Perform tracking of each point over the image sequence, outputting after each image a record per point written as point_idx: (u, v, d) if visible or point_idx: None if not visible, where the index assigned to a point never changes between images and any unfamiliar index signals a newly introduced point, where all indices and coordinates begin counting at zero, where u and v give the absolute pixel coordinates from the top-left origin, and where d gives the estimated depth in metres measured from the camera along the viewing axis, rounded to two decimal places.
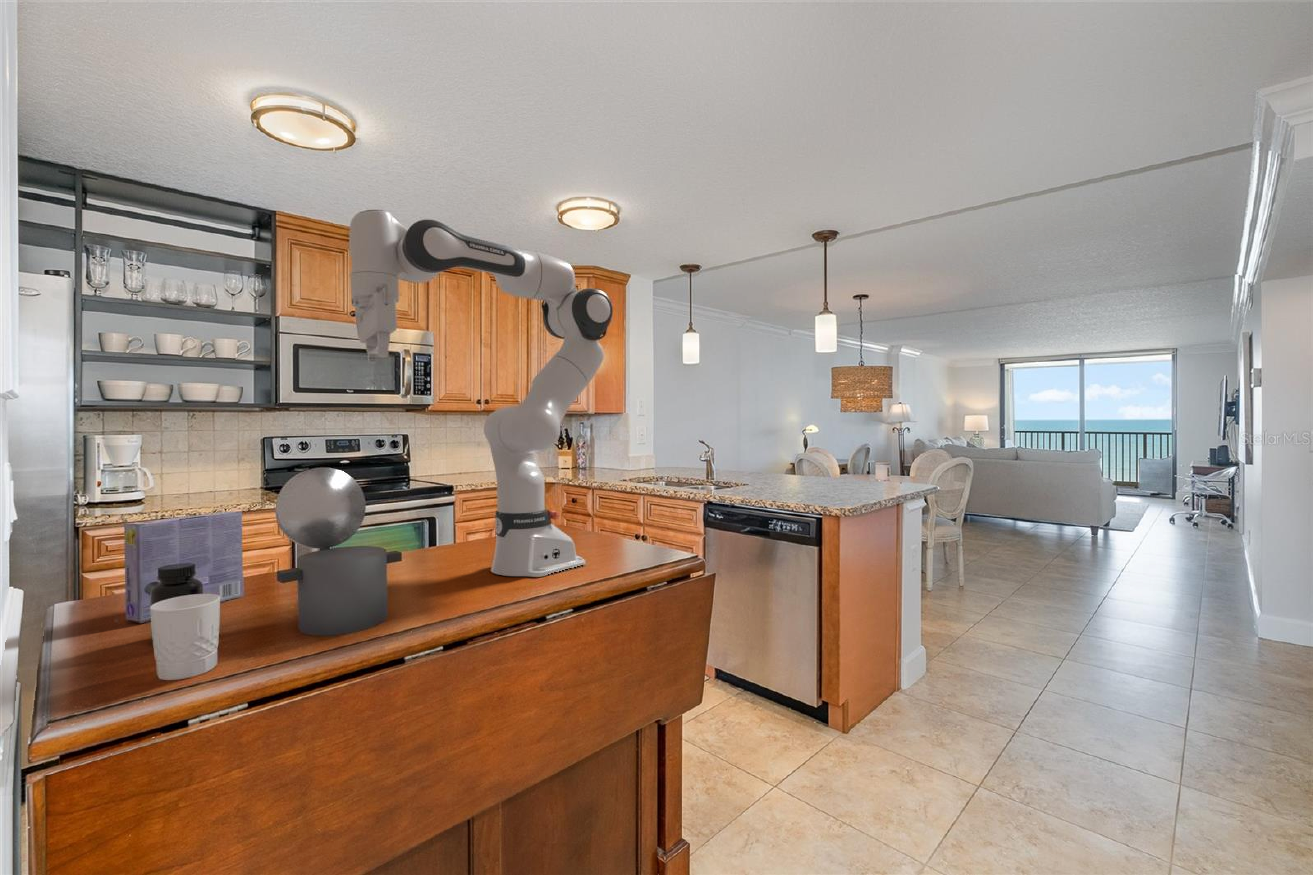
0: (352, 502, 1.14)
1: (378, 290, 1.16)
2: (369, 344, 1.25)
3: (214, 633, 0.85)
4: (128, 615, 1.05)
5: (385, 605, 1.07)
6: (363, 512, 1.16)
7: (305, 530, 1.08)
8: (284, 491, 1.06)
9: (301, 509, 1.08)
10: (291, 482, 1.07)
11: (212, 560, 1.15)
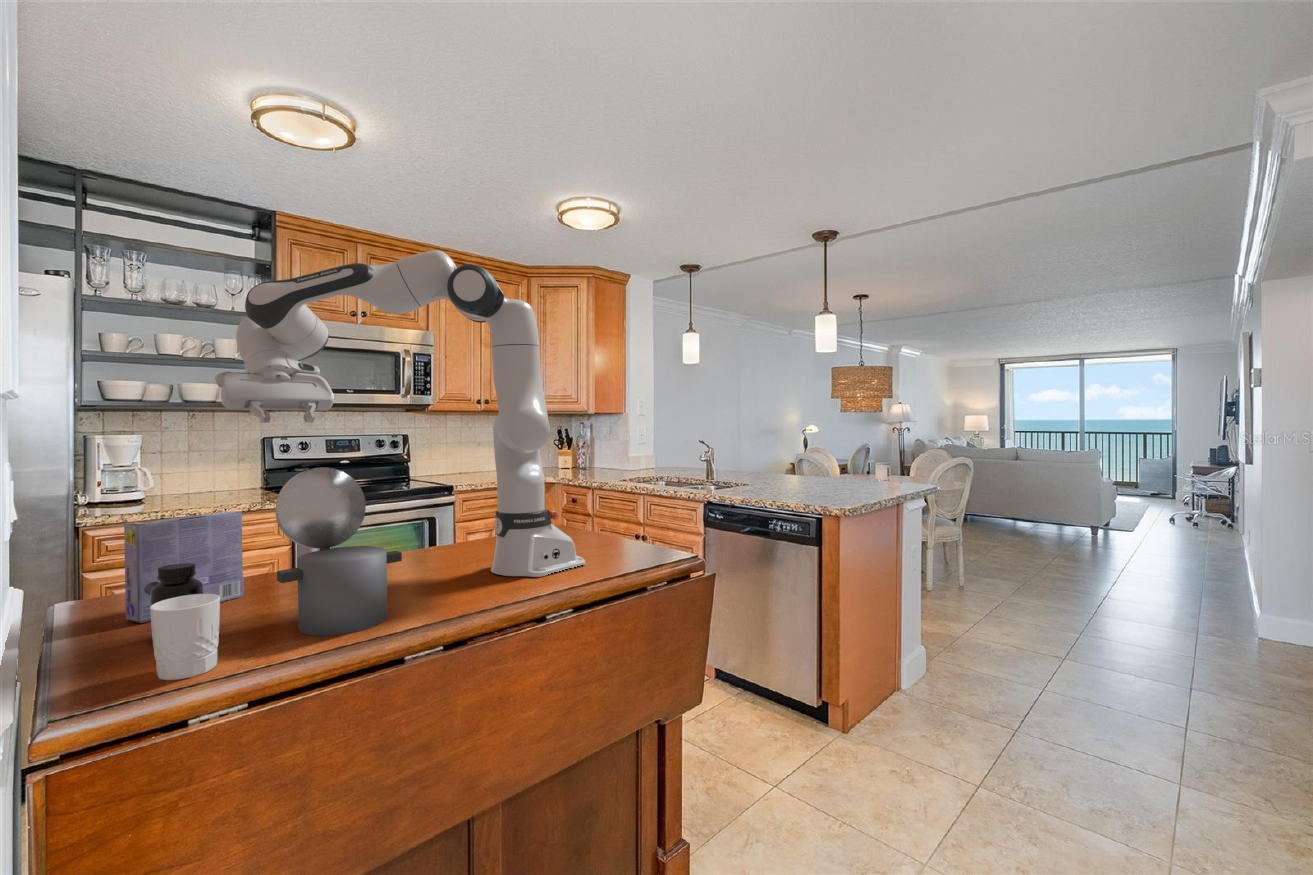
0: (352, 502, 1.14)
1: None
2: (307, 409, 1.27)
3: (214, 633, 0.85)
4: (128, 615, 1.05)
5: (385, 605, 1.07)
6: (363, 512, 1.16)
7: (305, 530, 1.08)
8: (284, 491, 1.06)
9: (301, 509, 1.08)
10: (291, 482, 1.07)
11: (212, 560, 1.15)
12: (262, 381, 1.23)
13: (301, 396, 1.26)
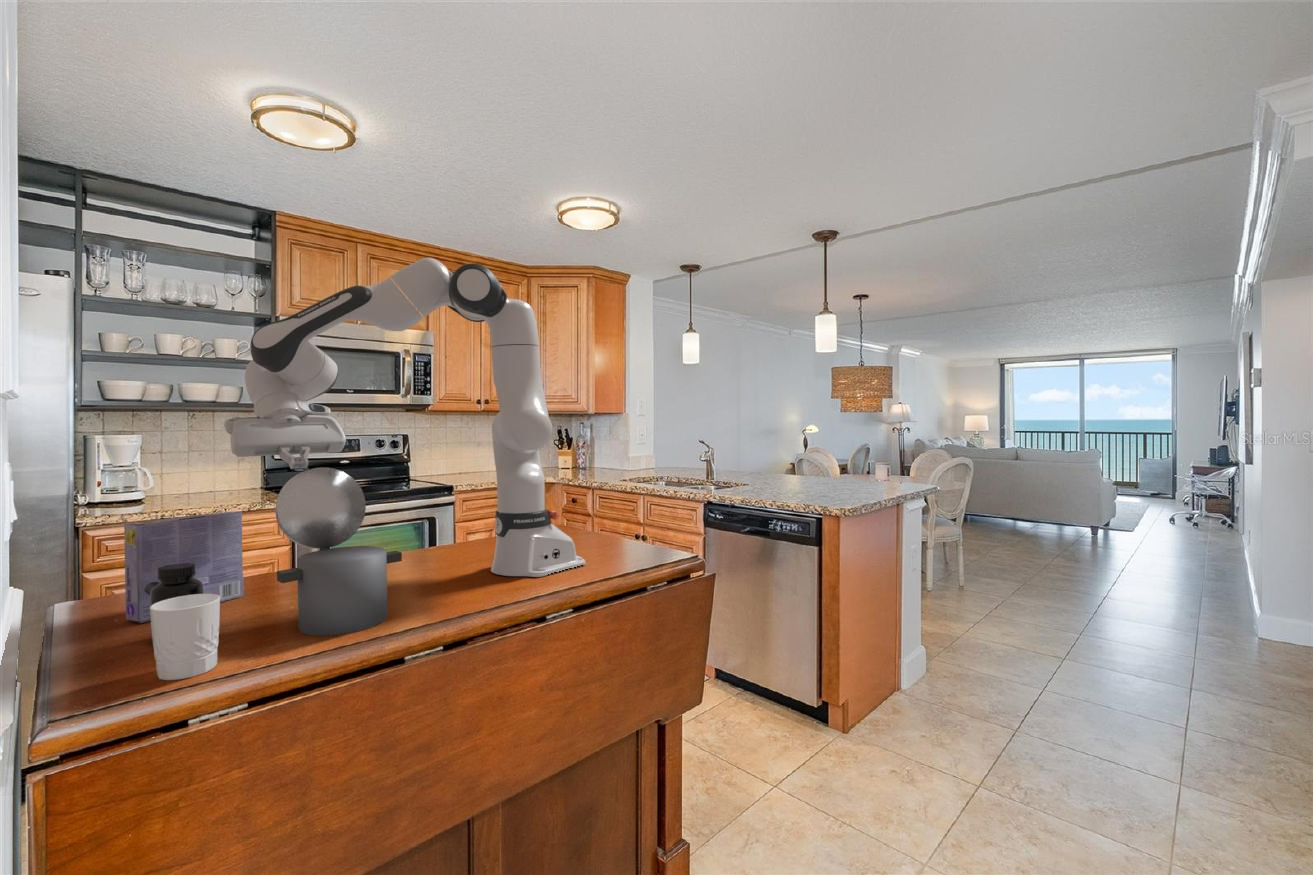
0: (352, 502, 1.14)
1: None
2: (300, 453, 1.21)
3: (214, 633, 0.85)
4: (128, 614, 1.05)
5: (385, 605, 1.07)
6: (363, 512, 1.16)
7: (305, 530, 1.08)
8: (284, 491, 1.06)
9: (301, 509, 1.08)
10: (291, 482, 1.07)
11: (212, 560, 1.15)
12: (272, 426, 1.20)
13: (313, 440, 1.23)
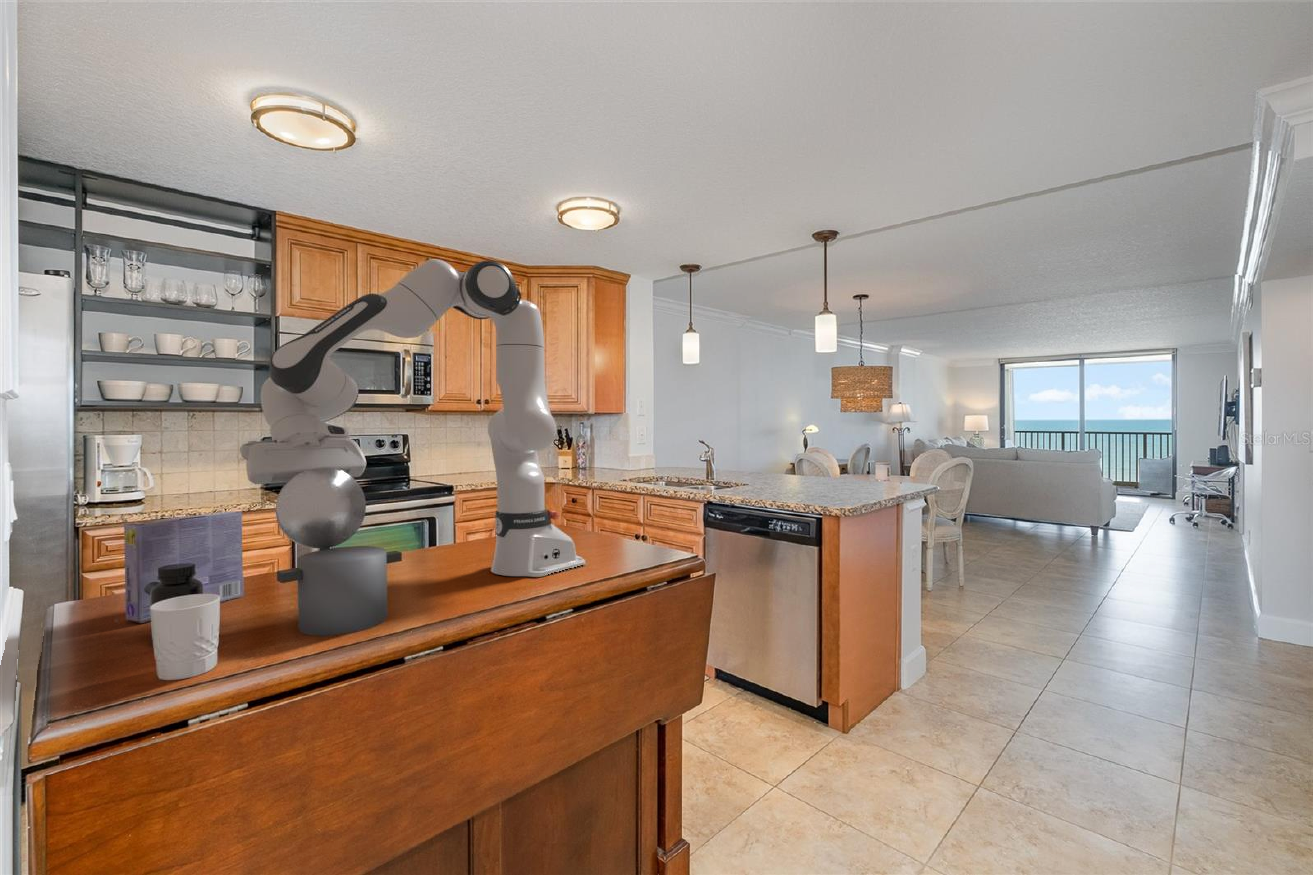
0: (352, 502, 1.14)
1: None
2: None
3: (214, 633, 0.85)
4: (128, 615, 1.05)
5: (385, 605, 1.07)
6: (363, 512, 1.16)
7: (305, 530, 1.08)
8: (284, 491, 1.06)
9: (301, 509, 1.08)
10: (291, 482, 1.07)
11: (212, 560, 1.15)
12: (290, 450, 1.13)
13: (332, 464, 1.16)
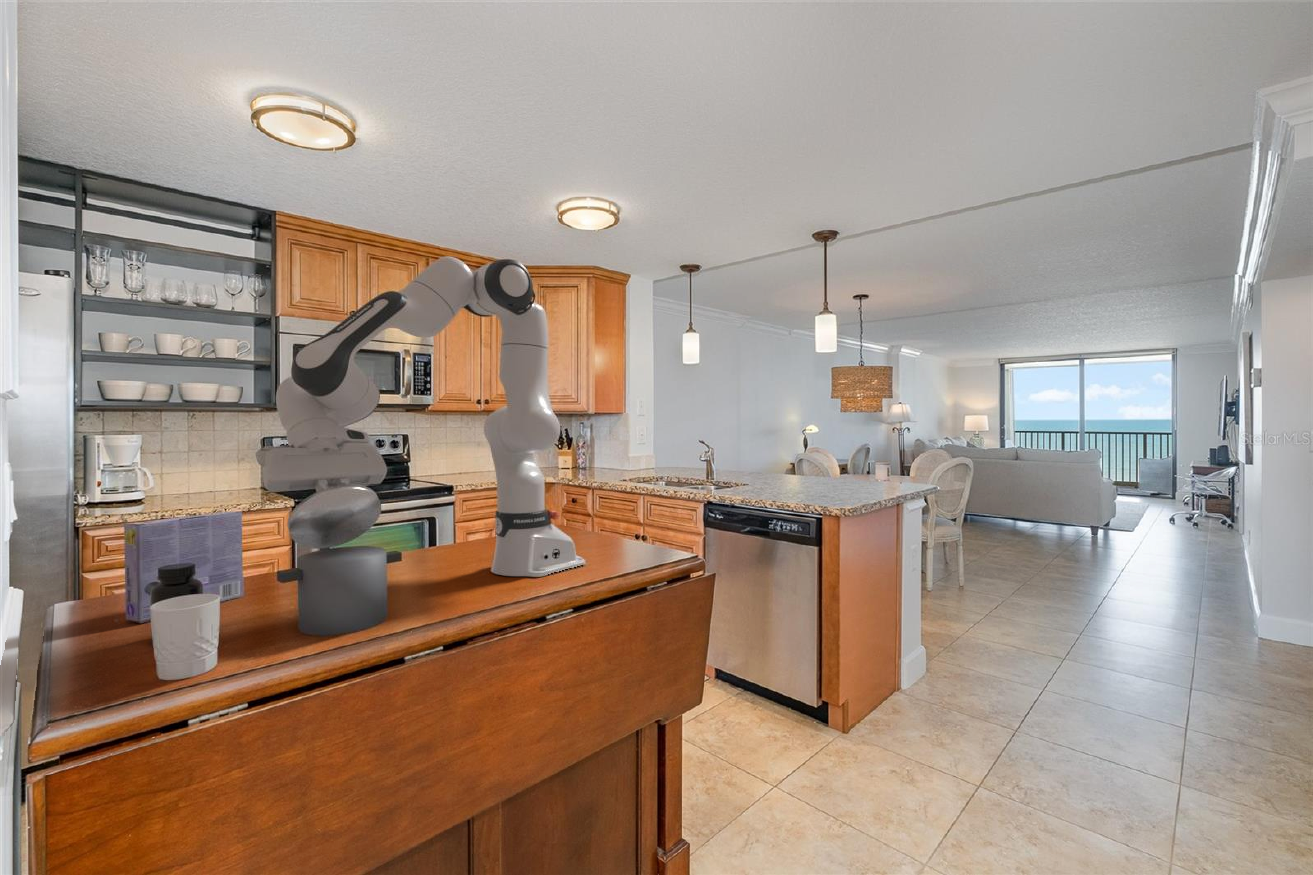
0: (366, 515, 1.10)
1: None
2: None
3: (214, 633, 0.85)
4: (128, 615, 1.05)
5: (385, 605, 1.07)
6: (374, 521, 1.13)
7: (312, 536, 1.06)
8: (303, 510, 1.00)
9: (315, 522, 1.04)
10: (313, 503, 1.00)
11: (212, 560, 1.15)
12: (308, 456, 1.07)
13: (352, 471, 1.10)
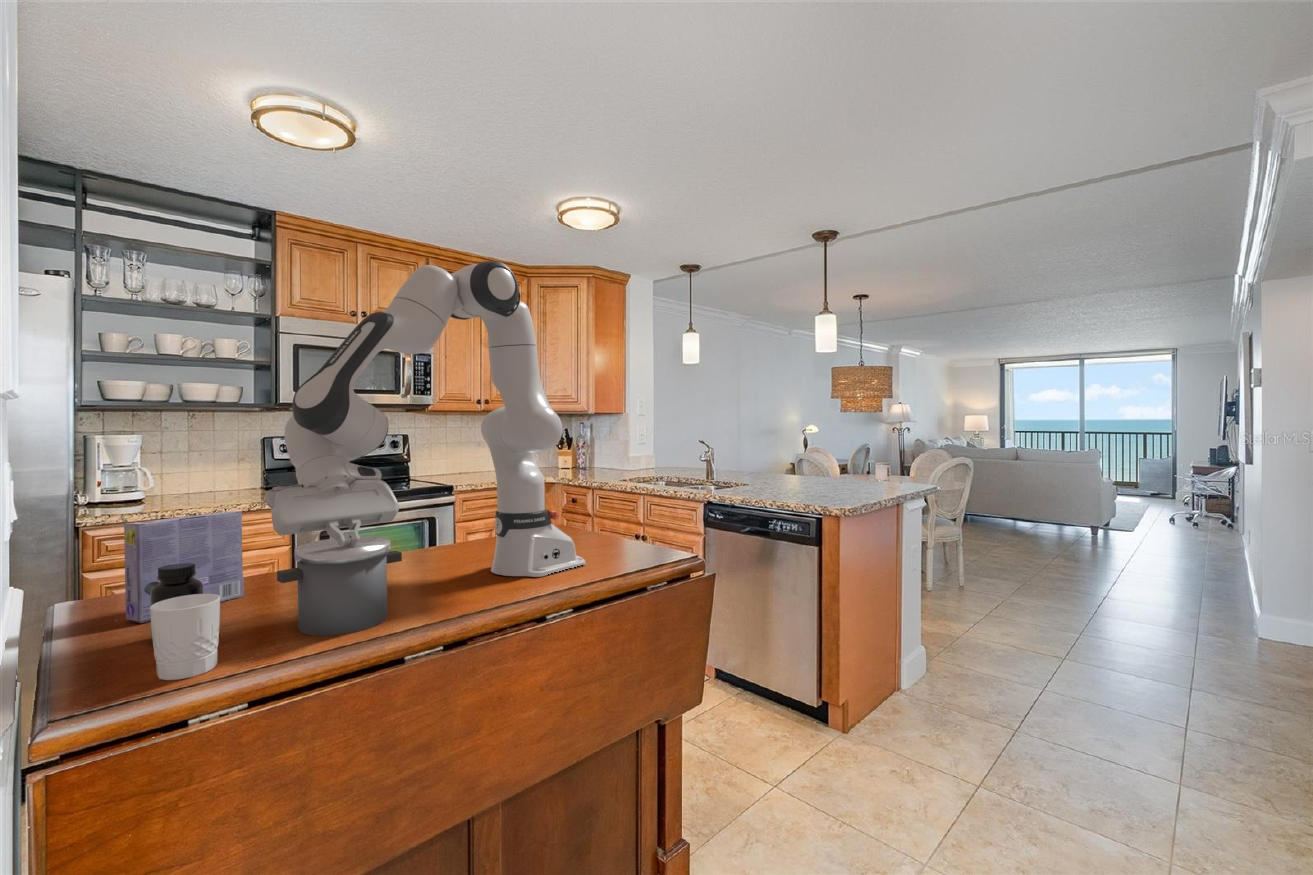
0: None
1: None
2: (350, 527, 1.06)
3: (214, 633, 0.85)
4: (128, 615, 1.05)
5: (385, 605, 1.07)
6: None
7: None
8: (313, 563, 0.98)
9: None
10: (324, 563, 0.98)
11: (212, 560, 1.15)
12: (318, 496, 1.04)
13: (363, 511, 1.07)
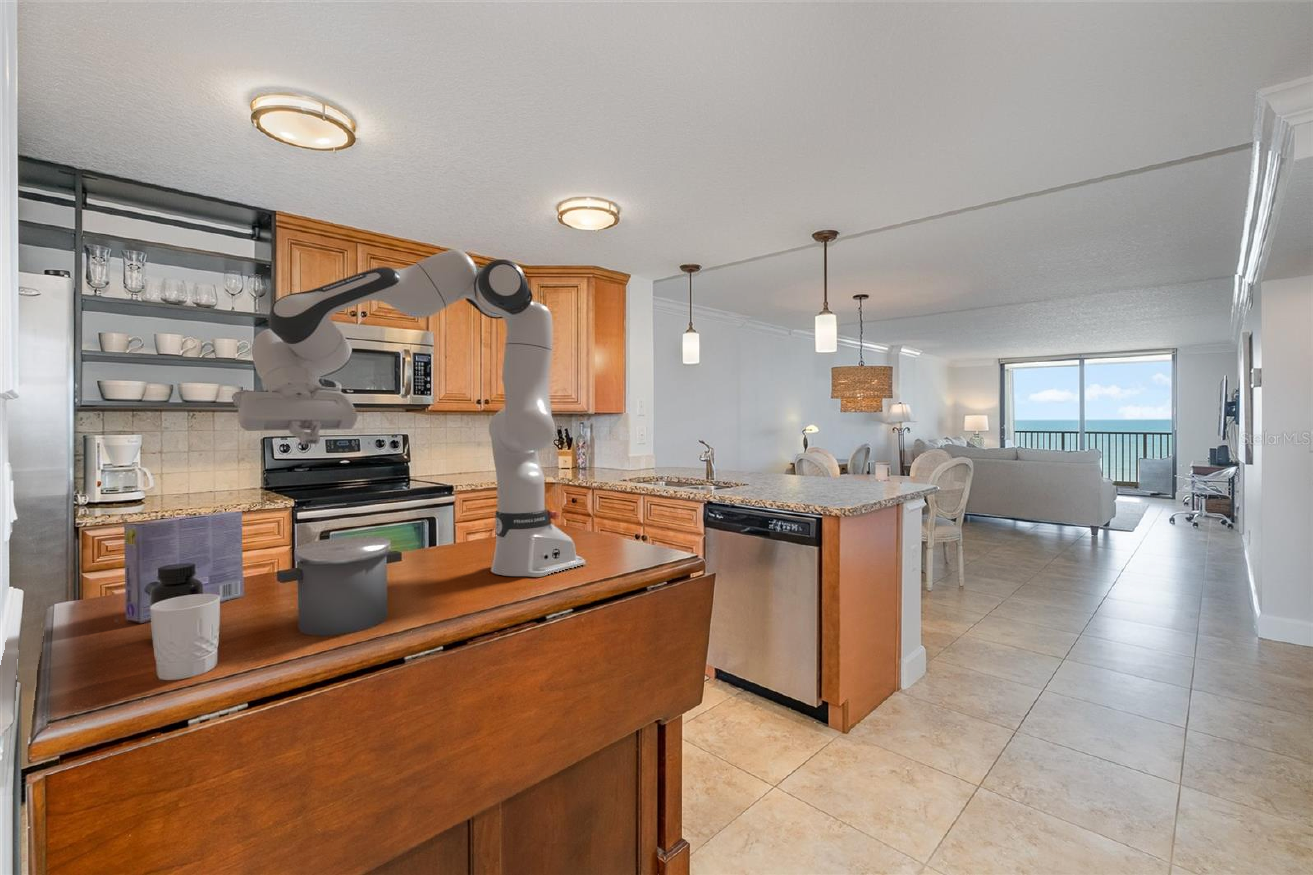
0: None
1: None
2: (311, 429, 1.16)
3: (214, 633, 0.85)
4: (128, 615, 1.05)
5: (385, 605, 1.07)
6: None
7: None
8: (313, 563, 0.98)
9: None
10: (324, 563, 0.98)
11: (212, 560, 1.15)
12: (281, 400, 1.15)
13: (324, 415, 1.18)
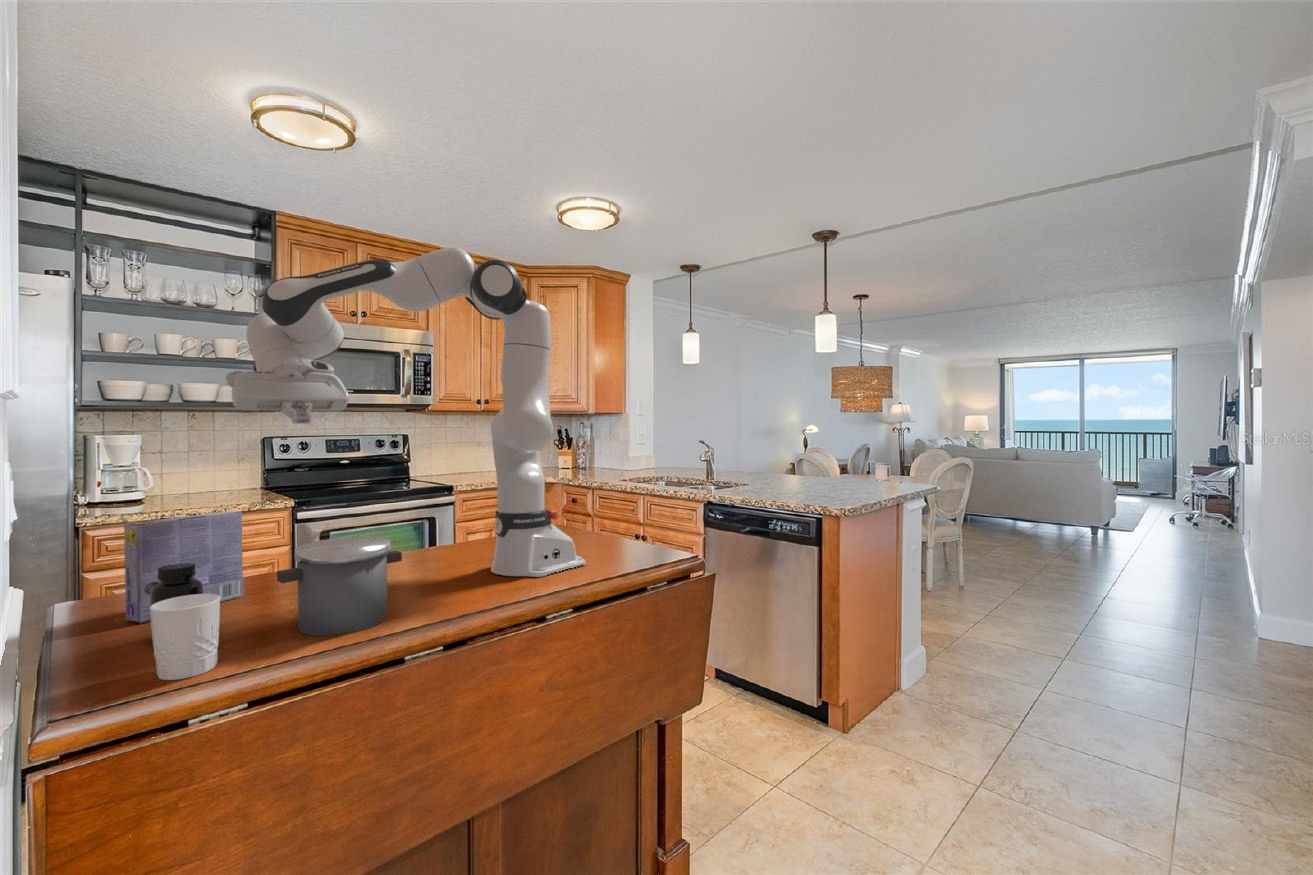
0: None
1: None
2: (303, 409, 1.19)
3: (214, 633, 0.85)
4: (128, 615, 1.05)
5: (385, 605, 1.07)
6: None
7: None
8: (313, 563, 0.98)
9: None
10: (324, 563, 0.98)
11: (212, 560, 1.15)
12: (274, 381, 1.18)
13: (315, 396, 1.21)
